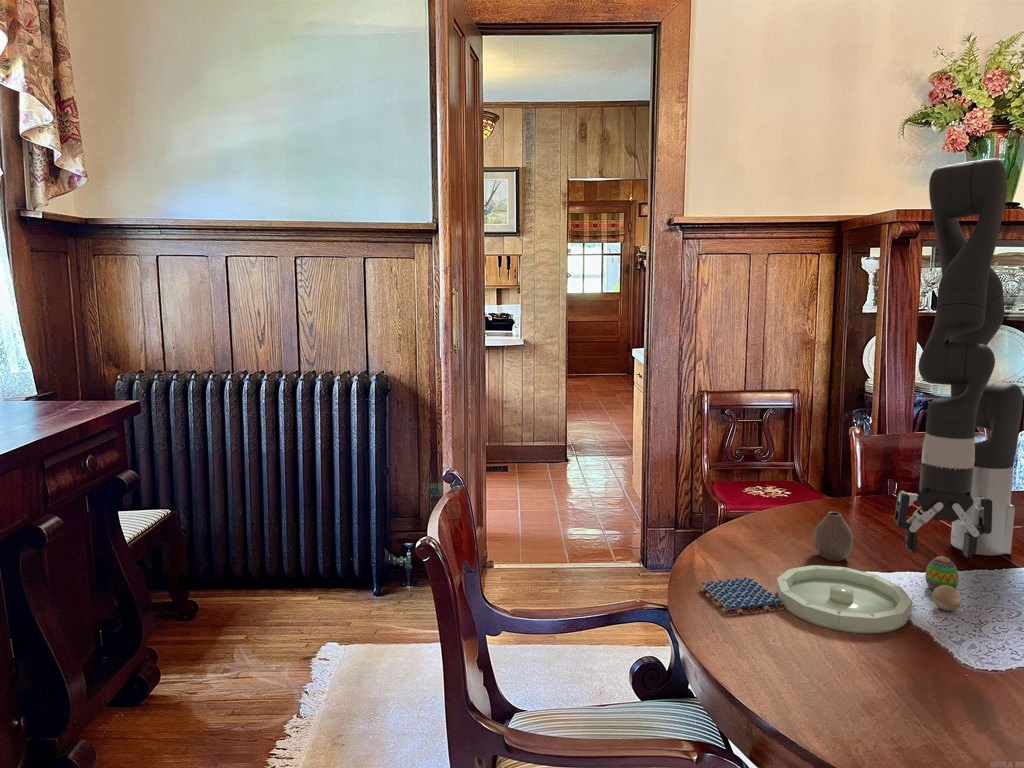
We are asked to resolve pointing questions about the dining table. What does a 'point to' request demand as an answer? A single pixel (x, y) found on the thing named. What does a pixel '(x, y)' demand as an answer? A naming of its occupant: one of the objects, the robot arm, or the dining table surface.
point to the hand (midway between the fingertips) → (939, 553)
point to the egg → (941, 573)
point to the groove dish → (845, 618)
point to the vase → (833, 538)
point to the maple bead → (946, 597)
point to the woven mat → (741, 596)
